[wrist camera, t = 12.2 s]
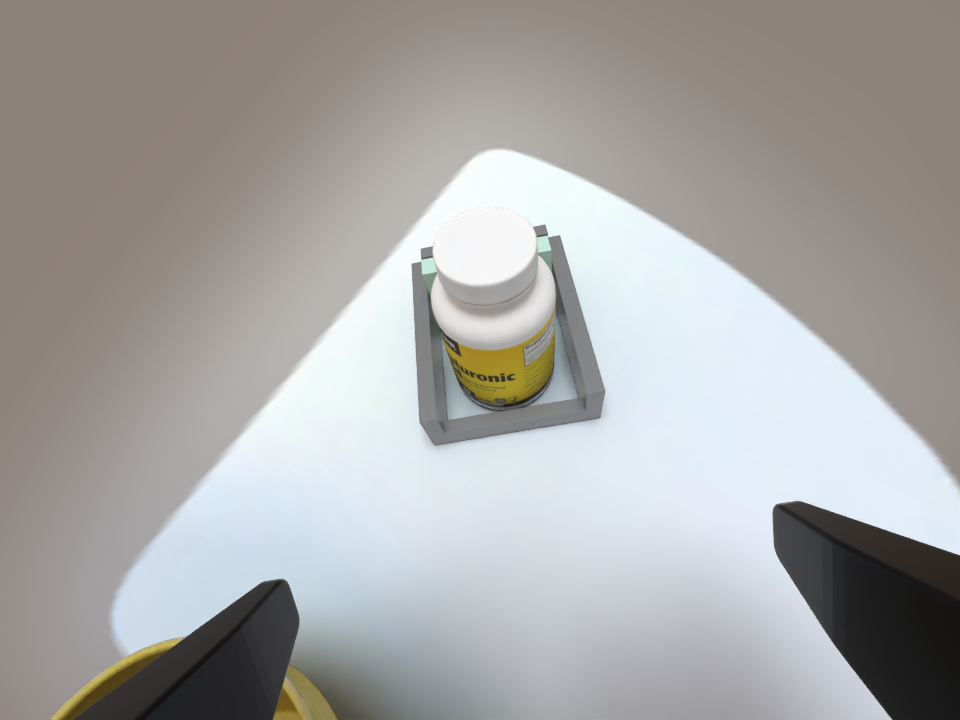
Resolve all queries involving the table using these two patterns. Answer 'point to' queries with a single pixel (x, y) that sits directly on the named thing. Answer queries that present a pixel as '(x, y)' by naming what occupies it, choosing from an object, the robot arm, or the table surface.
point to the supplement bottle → (495, 307)
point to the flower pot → (300, 704)
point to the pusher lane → (515, 419)
